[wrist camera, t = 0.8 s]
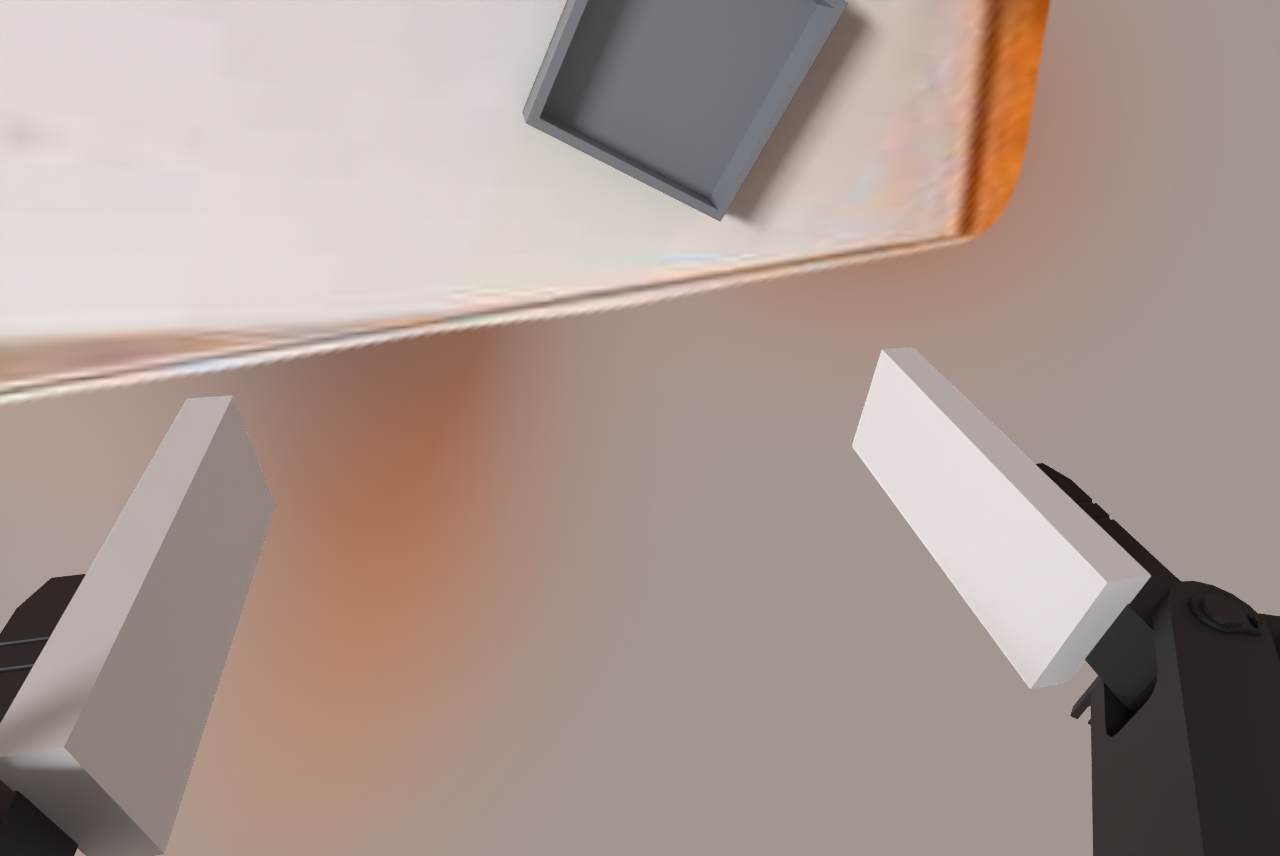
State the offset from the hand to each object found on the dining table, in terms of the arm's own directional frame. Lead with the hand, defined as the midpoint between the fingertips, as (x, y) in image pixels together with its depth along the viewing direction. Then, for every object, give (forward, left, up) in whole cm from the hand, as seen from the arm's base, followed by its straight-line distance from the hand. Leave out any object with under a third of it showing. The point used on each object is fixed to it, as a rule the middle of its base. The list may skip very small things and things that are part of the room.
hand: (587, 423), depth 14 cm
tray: (-3, +9, -27) cm, 29 cm away
